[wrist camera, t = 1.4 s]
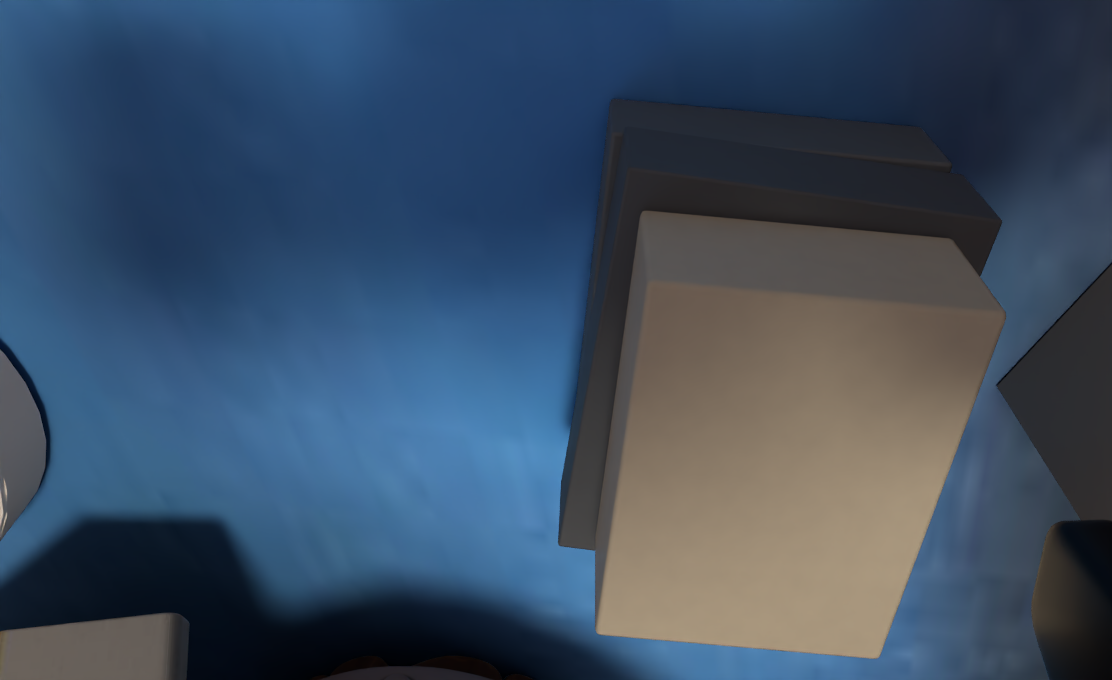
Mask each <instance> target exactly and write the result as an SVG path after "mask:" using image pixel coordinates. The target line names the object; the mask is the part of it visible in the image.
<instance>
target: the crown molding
mask: <svg viewBox="0 0 1112 680" xmlns="http://www.w3.org/2000/svg"><path fill="white" fill-rule="evenodd" d="M188 641H189V622H188V621H187V620H186V619H185V618H184V617H183V616H182V615H180V614H177V613H158V614H149V615H140V616H131V617H122V618H112V619H103V620H94V621H85V622H76V623H67V624H58V625H49V626H40V627H31V628H22V629H12V630H4V631H0V680H186V678H187V659H188Z"/></svg>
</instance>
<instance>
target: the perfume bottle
mask: <svg viewBox="0 0 1112 680" xmlns="http://www.w3.org/2000/svg"><path fill="white" fill-rule="evenodd" d="M997 387H998V389H999V390H1000V392H1001V394H1002V395H1003V397H1004V398H1005V400H1006V402H1007V403H1008V405H1009V406H1010V408H1011V410H1012V411H1013V413H1014V414H1015V416H1016V417H1017V419H1018V421H1019V422H1020V424H1021V425H1022V427H1023V429H1024V430H1025V432H1026V433H1027V435H1028V437H1029V438H1030V440H1031V441H1032V443H1033V445H1034V446H1035V448H1036V449H1037V451H1038V452H1039V454H1040V456H1041V457H1042V459H1043V460H1044V462H1045V464H1046V465H1047V467H1048V468H1049V470H1050V472H1051V473H1052V475H1053V476H1054V478H1055V480H1056V481H1057V483H1058V484H1059V486H1060V487H1061V489H1062V491H1063V492H1064V494H1065V495H1066V497H1067V499H1068V500H1069V502H1070V503H1071V505H1072V507H1073V508H1074V510H1075V511H1076V513H1077V514H1078V516H1079V518H1080V519H1081V520H1101V519H1104V520H1111V521H1112V265H1111V266H1110V267H1109V268H1108V269H1107V270H1106V271H1105V272H1104V273H1103V274H1102V275H1101V276H1100V277H1099V279H1098V280H1097V281H1096V282H1095V283H1094V284H1093V285H1092V286H1091V287H1090V288H1089V289H1088V290H1087V291H1086V292H1085V293H1084V294H1083V295H1082V297H1081V298H1080V299H1079V300H1078V301H1077V302H1076V303H1075V304H1074V305H1073V306H1072V307H1071V308H1070V309H1069V310H1068V311H1067V312H1066V313H1065V315H1064V316H1063V317H1062V318H1061V319H1060V320H1059V321H1058V322H1057V323H1056V324H1055V325H1054V326H1053V327H1052V328H1051V329H1050V330H1049V331H1048V333H1047V334H1046V335H1045V336H1044V337H1043V338H1042V339H1041V340H1040V341H1039V342H1038V343H1037V344H1036V345H1035V346H1034V347H1033V348H1032V349H1031V351H1030V352H1029V353H1028V354H1027V355H1026V356H1025V357H1024V358H1023V359H1022V360H1021V361H1020V362H1019V363H1018V364H1017V365H1016V366H1015V367H1014V369H1013V370H1012V371H1011V372H1010V373H1009V374H1008V375H1007V376H1006V377H1005V378H1004V379H1003V380H1002V381H1001V382H1000V383H999V384H998V385H997Z"/></svg>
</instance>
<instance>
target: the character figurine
mask: <svg viewBox="0 0 1112 680" xmlns="http://www.w3.org/2000/svg"><path fill="white" fill-rule="evenodd" d="M45 461H46V438H45V434H44V429H43V425H42V421H41V416H40V412H39V410H38V408H37V406H36V404H35V402H34V400H33V397H32V395H31V393H30V391H29V389H28V387H27V385H26V383H25V381H24V380H23V379H22V377H21V376H20V375H19V373H18V372H17V370H16V369H15V368H14V366H13V365H12V363H11V362H10V361H9V359H8V358H7V357H6V355H5V354H4V353H3V352H2V351H1V350H0V541H1V539H2V538H3V537H4V535H5V534H6V533H7V532H8V530H9V529H10V528H11V526H12V525H13V524H14V522H15V521H16V520H17V518H18V517H19V516H20V514H21V513H22V512H23V510H24V509H25V508H26V506H27V505H28V503H29V502H30V500H31V499H32V498H33V496H34V495H35V493H36V492H37V491H38V488H39V485H40V482H41V479H42V476H43V473H44V469H45Z"/></svg>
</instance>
